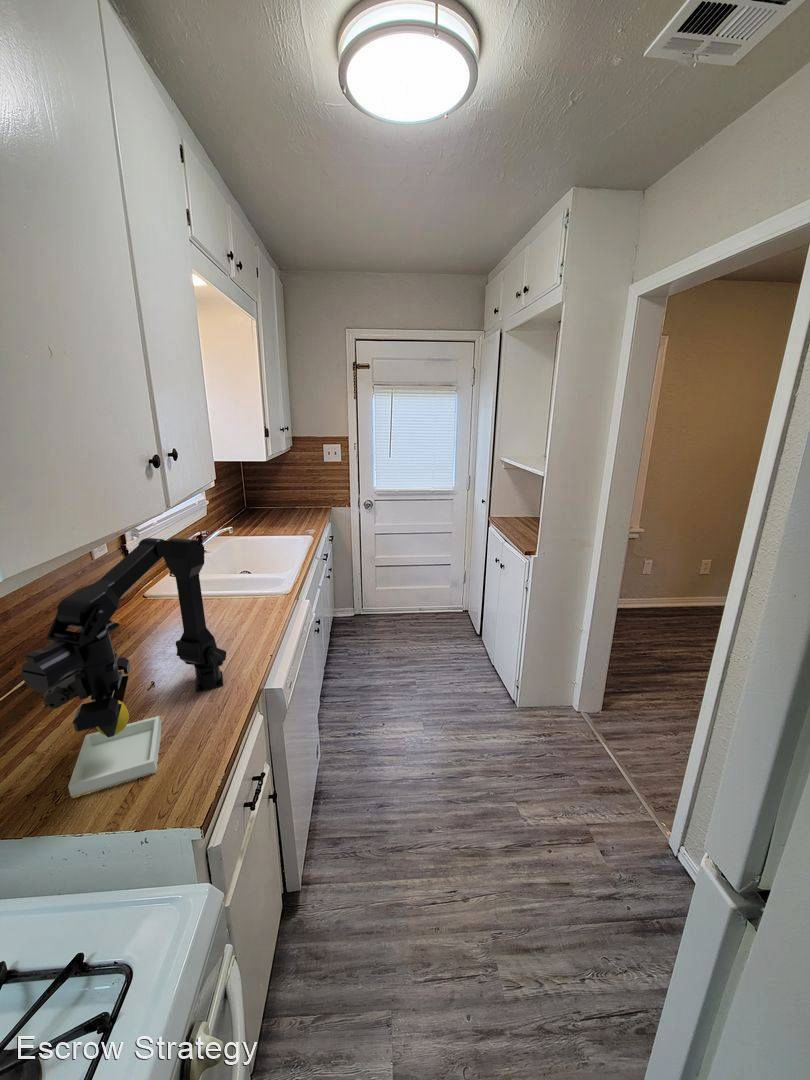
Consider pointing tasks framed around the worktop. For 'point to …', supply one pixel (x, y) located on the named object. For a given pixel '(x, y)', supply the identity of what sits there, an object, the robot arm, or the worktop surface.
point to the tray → (117, 757)
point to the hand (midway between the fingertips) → (113, 726)
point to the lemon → (120, 719)
